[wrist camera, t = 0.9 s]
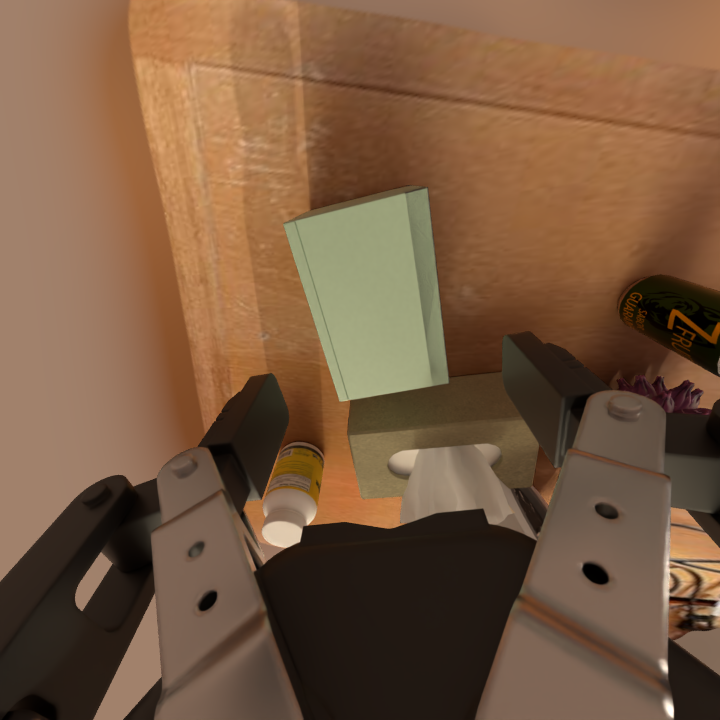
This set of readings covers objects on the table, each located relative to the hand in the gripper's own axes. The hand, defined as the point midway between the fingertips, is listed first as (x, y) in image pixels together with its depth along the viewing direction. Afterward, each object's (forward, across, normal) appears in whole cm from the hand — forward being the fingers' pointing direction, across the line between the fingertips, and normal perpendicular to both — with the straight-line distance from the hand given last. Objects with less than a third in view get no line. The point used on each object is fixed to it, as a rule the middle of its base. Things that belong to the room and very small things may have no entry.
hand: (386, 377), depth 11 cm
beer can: (+22, -25, +9) cm, 35 cm away
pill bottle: (+22, +15, +24) cm, 36 cm away
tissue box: (+22, -3, +19) cm, 30 cm away
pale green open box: (+22, +1, +2) cm, 22 cm away
